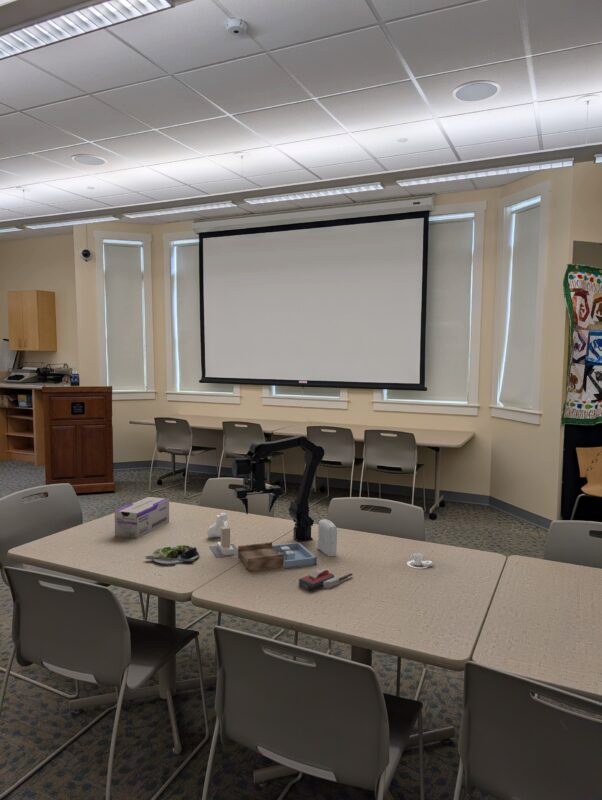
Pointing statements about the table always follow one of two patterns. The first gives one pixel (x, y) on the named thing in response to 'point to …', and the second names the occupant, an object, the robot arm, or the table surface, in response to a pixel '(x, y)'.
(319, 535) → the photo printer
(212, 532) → the bust
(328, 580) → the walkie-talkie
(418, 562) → the teacup and saucer
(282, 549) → the chip
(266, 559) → the groove block
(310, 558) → the chip tray
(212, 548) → the mat
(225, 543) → the plate with square knob
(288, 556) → the grey square block
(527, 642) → the table surface
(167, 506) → the surgical sutures box
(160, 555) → the salad plate
